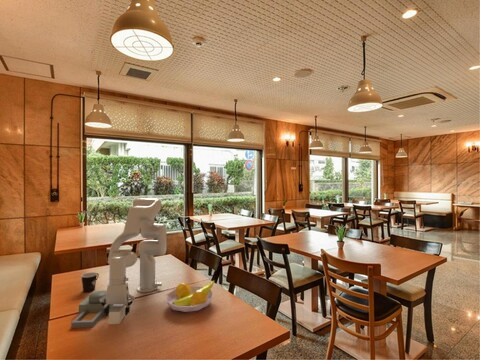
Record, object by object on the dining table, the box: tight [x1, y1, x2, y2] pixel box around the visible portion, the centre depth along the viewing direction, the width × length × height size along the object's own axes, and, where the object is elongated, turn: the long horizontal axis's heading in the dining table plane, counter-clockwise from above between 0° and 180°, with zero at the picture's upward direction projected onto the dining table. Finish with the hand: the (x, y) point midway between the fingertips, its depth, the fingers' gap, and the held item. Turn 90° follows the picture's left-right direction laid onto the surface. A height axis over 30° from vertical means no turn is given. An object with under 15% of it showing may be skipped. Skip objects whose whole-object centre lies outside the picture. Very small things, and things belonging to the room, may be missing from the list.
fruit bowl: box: [165, 280, 215, 313], centre depth 150 cm, size 28×27×11 cm
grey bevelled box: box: [108, 304, 126, 325], centre depth 134 cm, size 5×8×7 cm, turn 4°
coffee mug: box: [80, 271, 100, 294], centre depth 169 cm, size 12×9×10 cm
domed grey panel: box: [70, 289, 114, 329], centre depth 138 cm, size 16×24×8 cm
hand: (117, 314), depth 134 cm, fingers open, 9 cm apart
